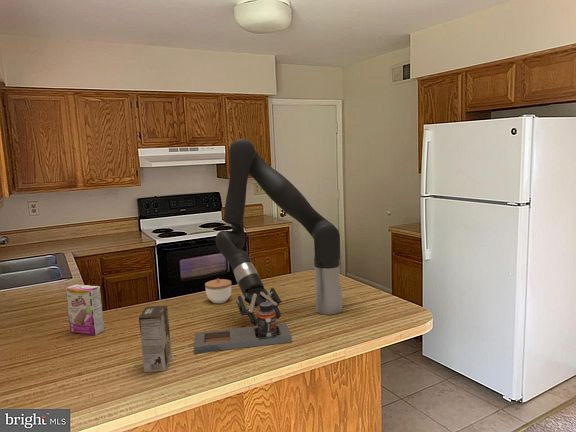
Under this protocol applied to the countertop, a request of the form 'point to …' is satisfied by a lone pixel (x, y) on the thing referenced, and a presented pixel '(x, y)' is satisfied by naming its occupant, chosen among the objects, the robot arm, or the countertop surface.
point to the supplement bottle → (266, 320)
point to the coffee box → (155, 338)
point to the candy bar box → (85, 309)
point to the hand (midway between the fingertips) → (267, 321)
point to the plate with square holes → (238, 338)
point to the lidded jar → (218, 290)
